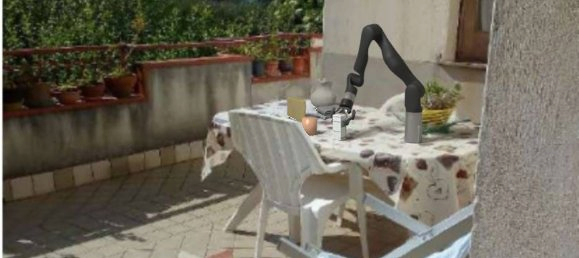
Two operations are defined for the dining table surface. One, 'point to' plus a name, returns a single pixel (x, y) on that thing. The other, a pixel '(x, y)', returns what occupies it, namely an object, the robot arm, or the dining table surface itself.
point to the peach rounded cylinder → (310, 125)
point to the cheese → (296, 108)
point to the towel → (326, 111)
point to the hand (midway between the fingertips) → (339, 124)
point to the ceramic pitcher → (323, 93)
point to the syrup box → (339, 127)
